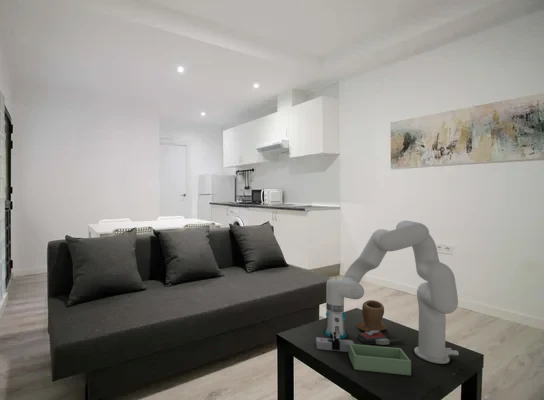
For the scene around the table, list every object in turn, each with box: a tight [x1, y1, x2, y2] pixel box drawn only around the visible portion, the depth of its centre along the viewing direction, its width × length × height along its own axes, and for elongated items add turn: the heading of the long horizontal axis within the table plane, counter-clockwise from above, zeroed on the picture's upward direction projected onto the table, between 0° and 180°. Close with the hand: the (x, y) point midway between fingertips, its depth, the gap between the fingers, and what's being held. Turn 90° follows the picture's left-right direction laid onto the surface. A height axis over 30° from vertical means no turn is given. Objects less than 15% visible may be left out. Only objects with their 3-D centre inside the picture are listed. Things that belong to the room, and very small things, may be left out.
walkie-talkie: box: [357, 330, 404, 346], centre depth 141 cm, size 9×4×20 cm
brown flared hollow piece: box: [356, 299, 388, 333], centre depth 153 cm, size 15×12×15 cm
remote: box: [315, 336, 355, 353], centre depth 135 cm, size 16×5×3 cm, turn 79°
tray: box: [348, 343, 412, 376], centre depth 121 cm, size 21×10×6 cm, turn 79°
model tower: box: [324, 274, 347, 340], centre depth 149 cm, size 10×10×30 cm
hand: (334, 346), depth 135 cm, fingers closed on remote, 4 cm apart
